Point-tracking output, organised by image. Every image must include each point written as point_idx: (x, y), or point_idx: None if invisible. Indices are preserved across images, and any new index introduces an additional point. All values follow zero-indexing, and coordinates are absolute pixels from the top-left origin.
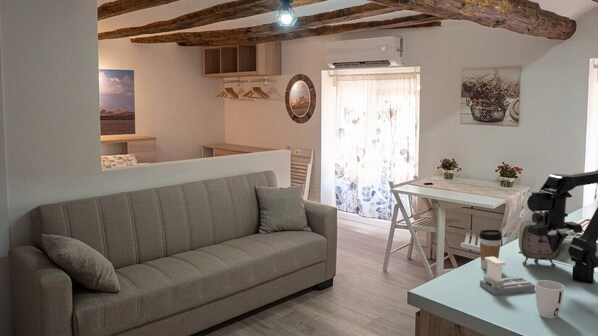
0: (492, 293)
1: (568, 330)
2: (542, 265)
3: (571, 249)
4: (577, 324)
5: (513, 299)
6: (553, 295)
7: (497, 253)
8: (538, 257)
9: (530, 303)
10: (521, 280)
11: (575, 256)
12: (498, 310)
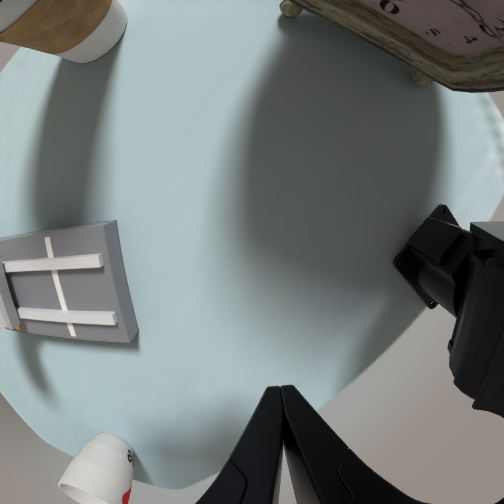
0: None
1: (133, 479)
2: None
3: (498, 302)
4: (161, 478)
5: (54, 362)
6: (98, 500)
7: (55, 30)
8: (361, 30)
9: (91, 396)
10: (94, 279)
11: (463, 325)
12: (24, 390)
